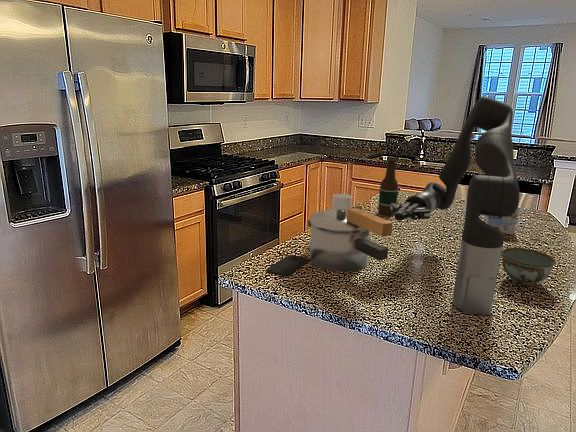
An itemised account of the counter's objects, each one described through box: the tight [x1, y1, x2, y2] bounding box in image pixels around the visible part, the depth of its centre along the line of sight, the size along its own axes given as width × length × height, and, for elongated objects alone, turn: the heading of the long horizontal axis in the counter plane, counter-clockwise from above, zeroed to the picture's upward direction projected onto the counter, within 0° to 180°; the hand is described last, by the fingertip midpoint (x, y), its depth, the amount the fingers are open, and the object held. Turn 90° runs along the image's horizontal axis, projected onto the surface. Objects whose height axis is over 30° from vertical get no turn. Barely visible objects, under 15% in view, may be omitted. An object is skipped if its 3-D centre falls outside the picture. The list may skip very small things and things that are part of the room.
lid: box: [309, 207, 393, 238], centre depth 126 cm, size 30×19×6 cm, turn 28°
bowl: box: [501, 247, 556, 287], centre depth 122 cm, size 14×13×8 cm
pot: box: [307, 219, 389, 273], centre depth 131 cm, size 32×18×12 cm, turn 33°
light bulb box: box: [483, 206, 520, 235], centre depth 167 cm, size 11×7×11 cm, turn 76°
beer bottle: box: [377, 158, 399, 217], centre depth 185 cm, size 8×8×24 cm
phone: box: [266, 254, 310, 277], centre depth 130 cm, size 7×1×15 cm
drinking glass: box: [331, 193, 352, 210], centre depth 156 cm, size 7×7×15 cm
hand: (398, 216), depth 123 cm, fingers closed
